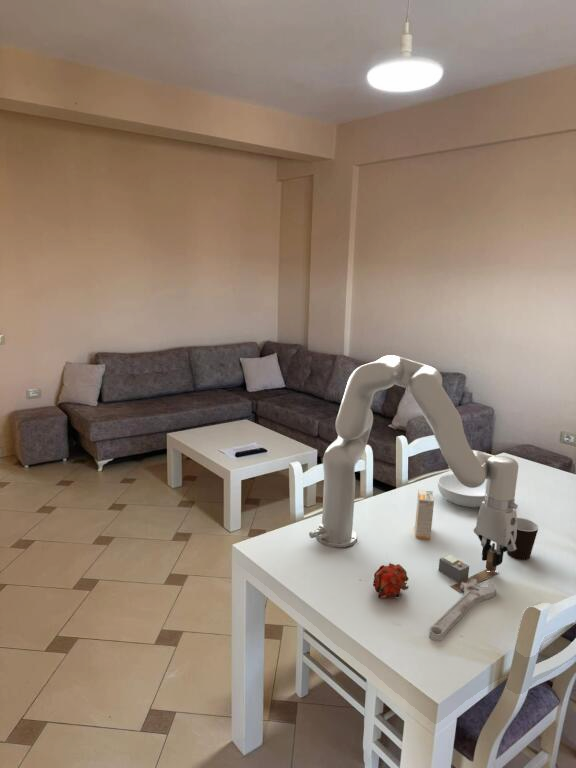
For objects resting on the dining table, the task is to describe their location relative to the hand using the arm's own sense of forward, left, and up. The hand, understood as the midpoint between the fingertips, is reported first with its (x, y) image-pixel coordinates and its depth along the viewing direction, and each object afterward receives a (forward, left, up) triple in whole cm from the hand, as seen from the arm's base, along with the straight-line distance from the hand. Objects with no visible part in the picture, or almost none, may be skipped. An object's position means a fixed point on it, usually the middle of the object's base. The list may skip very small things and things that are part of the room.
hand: (491, 561), depth 151 cm
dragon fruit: (-32, +8, -4) cm, 33 cm away
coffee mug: (+17, +2, -4) cm, 18 cm away
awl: (0, 0, -2) cm, 2 cm away
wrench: (-22, -3, -3) cm, 23 cm away
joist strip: (-7, 0, -4) cm, 8 cm away
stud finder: (-10, +5, -4) cm, 12 cm away
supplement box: (+1, +26, -4) cm, 26 cm away
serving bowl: (+33, +34, -4) cm, 48 cm away
